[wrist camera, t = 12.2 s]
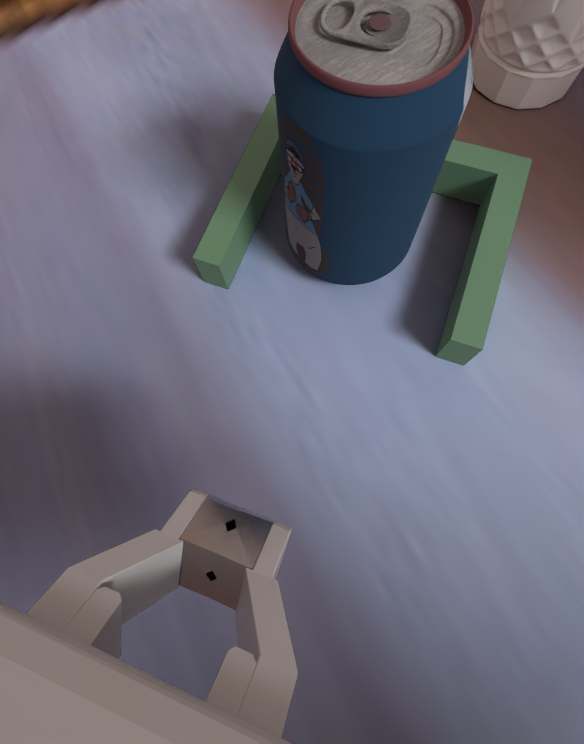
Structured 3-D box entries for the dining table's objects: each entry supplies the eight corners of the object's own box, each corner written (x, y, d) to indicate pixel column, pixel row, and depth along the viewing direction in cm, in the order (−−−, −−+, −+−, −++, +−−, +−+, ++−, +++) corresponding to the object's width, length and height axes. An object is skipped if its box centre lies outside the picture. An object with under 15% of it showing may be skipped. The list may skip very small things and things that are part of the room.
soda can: (421, 210, 25) (517, -37, 13) (387, 311, 23) (464, 128, 12) (311, 179, 26) (312, -76, 14) (270, 274, 24) (234, 71, 13)
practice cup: (511, 191, 25) (963, -493, 8) (463, 365, 22) (1019, -108, 5) (273, 129, 27) (208, -521, 10) (201, 280, 24) (-73, -265, 7)
